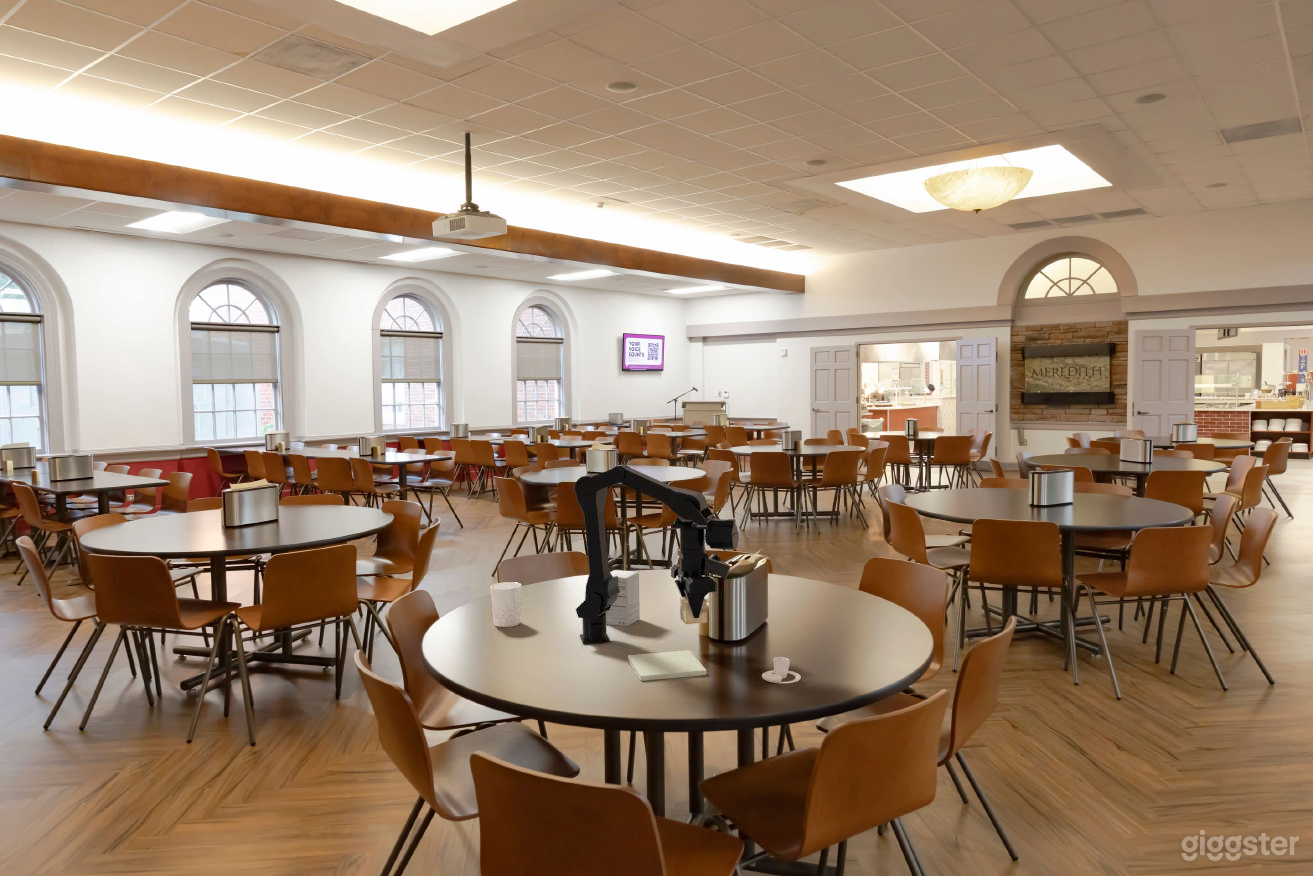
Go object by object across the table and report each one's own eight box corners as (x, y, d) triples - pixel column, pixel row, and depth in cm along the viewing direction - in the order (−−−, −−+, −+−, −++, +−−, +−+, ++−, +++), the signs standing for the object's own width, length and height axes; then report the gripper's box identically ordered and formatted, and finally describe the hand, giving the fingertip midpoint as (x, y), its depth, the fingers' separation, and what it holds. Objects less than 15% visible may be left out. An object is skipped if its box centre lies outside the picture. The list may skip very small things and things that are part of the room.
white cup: (501, 629, 208) (500, 590, 207) (485, 623, 214) (484, 585, 213) (528, 623, 213) (527, 585, 212) (512, 618, 219) (511, 580, 218)
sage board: (628, 659, 182) (628, 655, 182) (689, 654, 185) (689, 650, 185) (640, 680, 169) (640, 676, 169) (706, 674, 172) (706, 670, 172)
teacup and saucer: (771, 688, 164) (771, 668, 164) (751, 676, 172) (751, 657, 172) (808, 682, 168) (808, 662, 168) (787, 670, 175) (787, 651, 175)
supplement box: (615, 616, 218) (614, 569, 218) (640, 619, 215) (639, 571, 215) (602, 623, 212) (601, 575, 211) (627, 626, 209) (626, 577, 208)
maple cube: (680, 618, 191) (680, 597, 191) (701, 616, 192) (700, 595, 192) (685, 624, 186) (685, 602, 186) (707, 622, 188) (706, 600, 187)
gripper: (738, 553, 181) (739, 623, 182) (714, 539, 199) (715, 602, 200) (689, 556, 179) (690, 627, 180) (669, 541, 197) (670, 606, 198)
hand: (693, 615), depth 189 cm, fingers closed on maple cube, 5 cm apart
